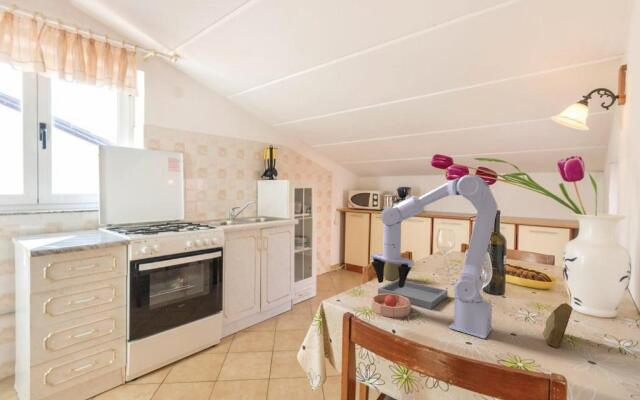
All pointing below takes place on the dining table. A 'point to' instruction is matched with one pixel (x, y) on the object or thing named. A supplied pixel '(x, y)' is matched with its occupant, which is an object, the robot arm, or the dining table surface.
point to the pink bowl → (387, 311)
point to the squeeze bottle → (391, 271)
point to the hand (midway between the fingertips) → (390, 284)
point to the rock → (557, 324)
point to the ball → (390, 301)
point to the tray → (416, 293)
